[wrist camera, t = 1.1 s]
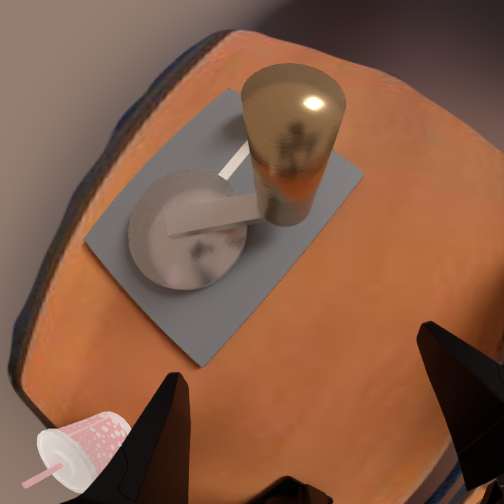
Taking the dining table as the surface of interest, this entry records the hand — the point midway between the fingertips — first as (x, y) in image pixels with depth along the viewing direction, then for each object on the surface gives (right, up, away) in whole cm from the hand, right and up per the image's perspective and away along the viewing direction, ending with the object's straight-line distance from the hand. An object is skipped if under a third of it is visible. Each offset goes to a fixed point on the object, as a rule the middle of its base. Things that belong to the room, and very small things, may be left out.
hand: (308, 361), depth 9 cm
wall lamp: (-5, +6, +14) cm, 16 cm away
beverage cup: (-16, -14, +12) cm, 25 cm away
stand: (-5, +8, +16) cm, 18 cm away
